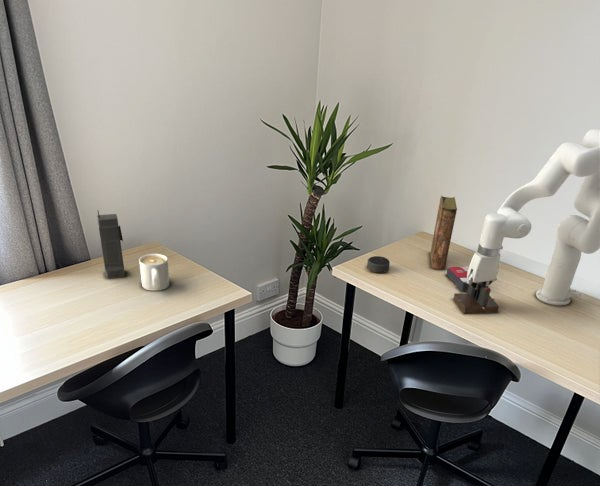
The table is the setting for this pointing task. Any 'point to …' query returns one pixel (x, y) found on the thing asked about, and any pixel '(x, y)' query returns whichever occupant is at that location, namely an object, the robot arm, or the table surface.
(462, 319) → the table surface
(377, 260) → the smart speaker
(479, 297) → the grey rectangular slab
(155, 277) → the coffee mug
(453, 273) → the red and grey box
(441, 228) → the book
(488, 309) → the stand
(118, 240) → the portable radio
